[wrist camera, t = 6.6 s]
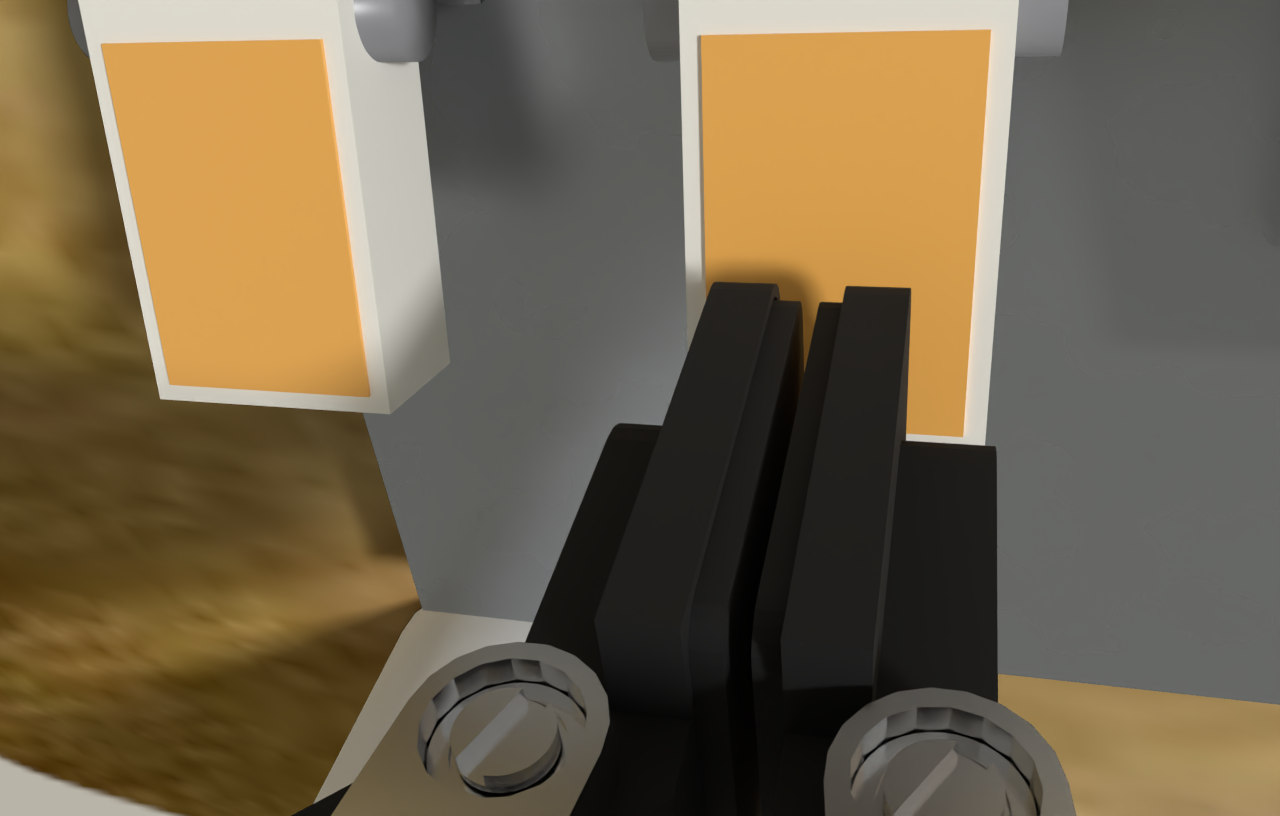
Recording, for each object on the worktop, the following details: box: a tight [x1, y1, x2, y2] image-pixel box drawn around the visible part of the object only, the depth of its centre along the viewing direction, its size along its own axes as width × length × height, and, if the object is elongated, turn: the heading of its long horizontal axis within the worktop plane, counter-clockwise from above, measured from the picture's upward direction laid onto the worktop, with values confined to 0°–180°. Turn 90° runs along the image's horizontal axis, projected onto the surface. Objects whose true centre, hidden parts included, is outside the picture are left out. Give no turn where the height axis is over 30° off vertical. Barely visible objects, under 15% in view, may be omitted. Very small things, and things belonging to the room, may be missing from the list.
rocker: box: [67, 0, 450, 414], centre depth 12 cm, size 8×4×2 cm, turn 6°
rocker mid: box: [643, 0, 1069, 445], centre depth 11 cm, size 8×4×2 cm, turn 6°
